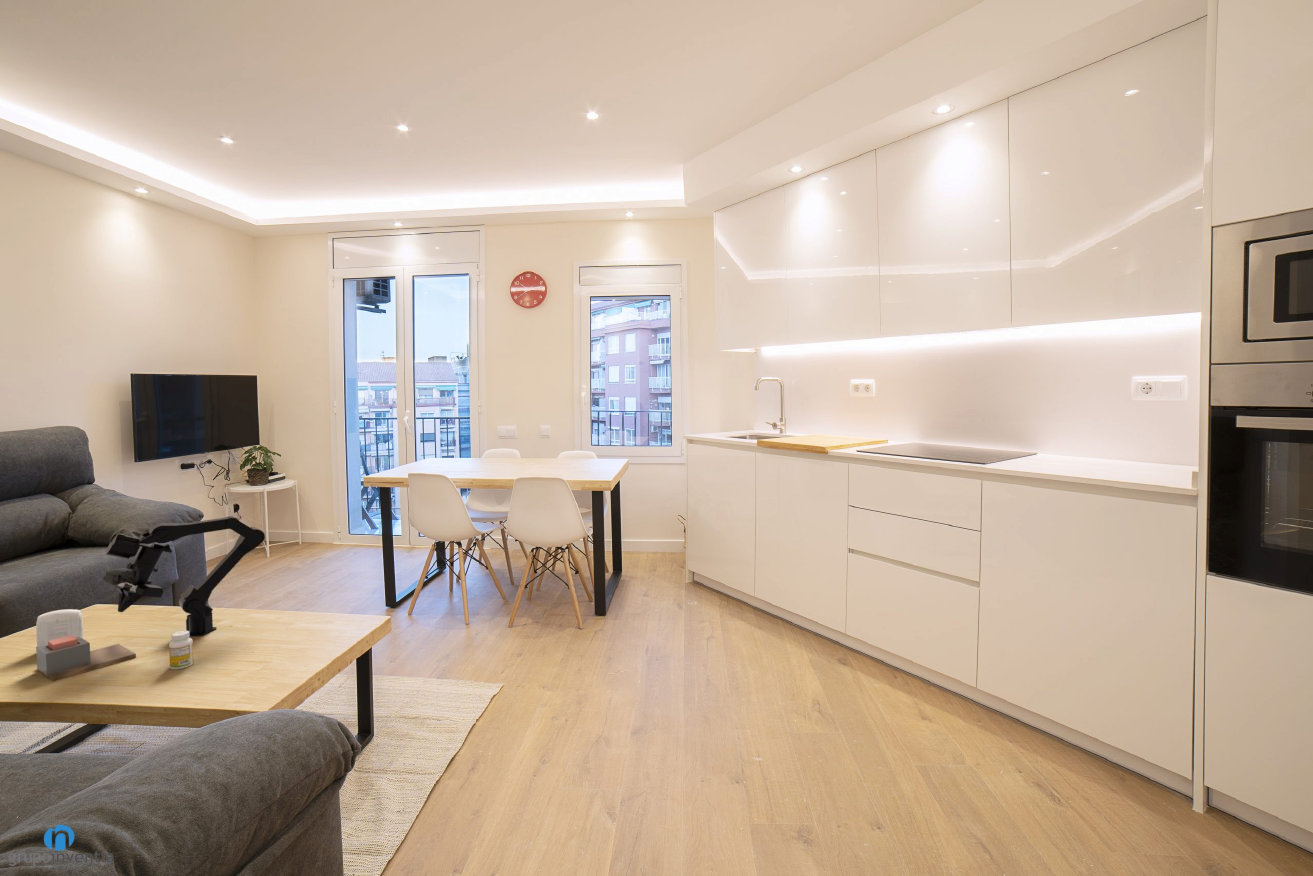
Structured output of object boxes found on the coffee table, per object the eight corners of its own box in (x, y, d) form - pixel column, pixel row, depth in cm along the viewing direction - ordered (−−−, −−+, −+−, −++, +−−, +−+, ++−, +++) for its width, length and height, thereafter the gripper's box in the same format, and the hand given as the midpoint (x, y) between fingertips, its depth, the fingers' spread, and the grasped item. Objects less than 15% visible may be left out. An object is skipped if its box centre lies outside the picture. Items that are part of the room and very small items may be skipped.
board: (118, 647, 184) (118, 643, 184) (136, 657, 177) (135, 653, 177) (37, 669, 169) (36, 665, 169) (52, 681, 162) (52, 676, 162)
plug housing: (80, 656, 175) (79, 636, 175) (90, 663, 170) (89, 643, 170) (37, 667, 167) (36, 647, 167) (46, 675, 163) (45, 654, 162)
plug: (72, 655, 172) (71, 635, 172) (78, 659, 169) (77, 638, 169) (48, 661, 168) (47, 641, 168) (54, 665, 165) (53, 644, 165)
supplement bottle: (178, 662, 174) (177, 629, 173) (198, 661, 174) (196, 629, 174) (165, 670, 169) (163, 637, 168) (185, 669, 169) (183, 636, 169)
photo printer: (85, 643, 187) (83, 605, 187) (81, 648, 184) (79, 609, 183) (39, 651, 182) (37, 611, 181) (35, 655, 178) (33, 615, 178)
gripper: (98, 551, 181) (71, 601, 177) (140, 567, 176) (112, 619, 172) (135, 556, 192) (110, 603, 188) (175, 571, 186) (150, 621, 182)
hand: (120, 611), depth 182 cm, fingers closed
